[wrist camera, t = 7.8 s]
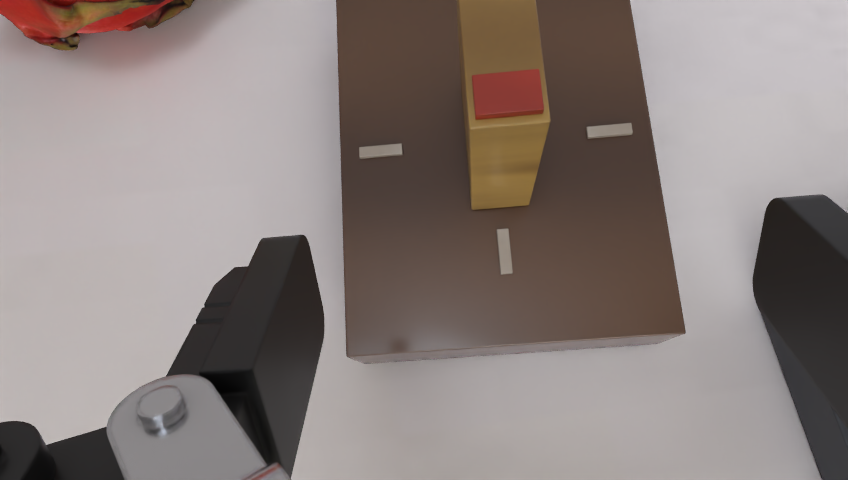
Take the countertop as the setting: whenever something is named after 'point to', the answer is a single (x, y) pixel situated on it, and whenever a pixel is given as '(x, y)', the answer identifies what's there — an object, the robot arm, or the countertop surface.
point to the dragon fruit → (85, 17)
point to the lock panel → (508, 226)
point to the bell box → (814, 415)
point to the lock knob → (502, 99)
